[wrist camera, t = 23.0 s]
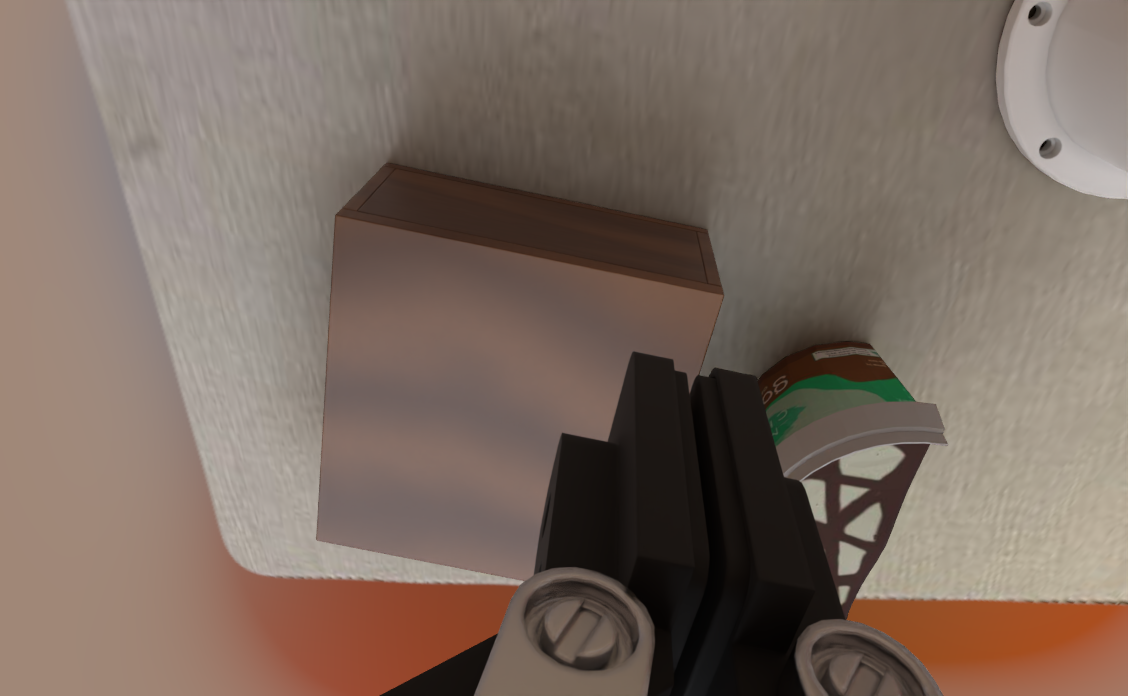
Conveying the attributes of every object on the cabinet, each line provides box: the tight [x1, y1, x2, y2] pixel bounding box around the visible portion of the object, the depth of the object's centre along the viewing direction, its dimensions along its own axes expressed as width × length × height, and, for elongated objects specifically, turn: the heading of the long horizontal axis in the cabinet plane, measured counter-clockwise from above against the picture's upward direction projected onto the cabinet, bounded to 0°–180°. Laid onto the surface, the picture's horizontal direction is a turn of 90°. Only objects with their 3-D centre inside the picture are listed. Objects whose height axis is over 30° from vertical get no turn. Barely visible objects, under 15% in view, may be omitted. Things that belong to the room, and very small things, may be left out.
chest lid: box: [316, 209, 724, 581], centre depth 35 cm, size 17×15×1 cm
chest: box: [342, 163, 722, 287], centre depth 38 cm, size 16×15×7 cm
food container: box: [758, 341, 948, 619], centre depth 38 cm, size 12×6×10 cm, turn 170°
